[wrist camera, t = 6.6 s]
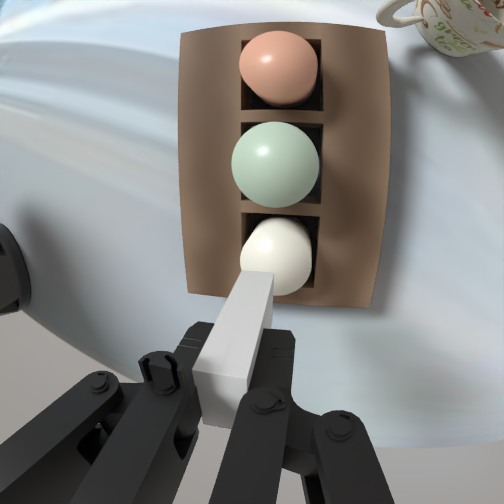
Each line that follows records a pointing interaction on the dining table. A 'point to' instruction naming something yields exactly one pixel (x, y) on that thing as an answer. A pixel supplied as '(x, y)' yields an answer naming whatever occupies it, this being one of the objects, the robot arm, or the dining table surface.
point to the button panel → (328, 119)
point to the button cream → (279, 252)
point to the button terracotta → (279, 68)
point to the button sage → (275, 164)
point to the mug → (452, 23)
